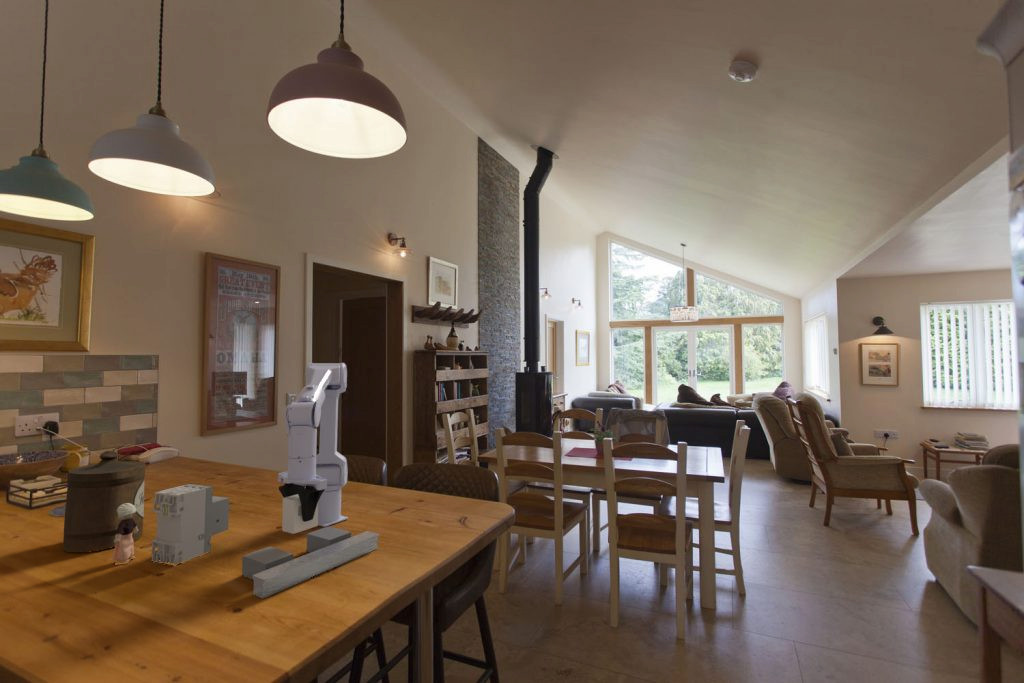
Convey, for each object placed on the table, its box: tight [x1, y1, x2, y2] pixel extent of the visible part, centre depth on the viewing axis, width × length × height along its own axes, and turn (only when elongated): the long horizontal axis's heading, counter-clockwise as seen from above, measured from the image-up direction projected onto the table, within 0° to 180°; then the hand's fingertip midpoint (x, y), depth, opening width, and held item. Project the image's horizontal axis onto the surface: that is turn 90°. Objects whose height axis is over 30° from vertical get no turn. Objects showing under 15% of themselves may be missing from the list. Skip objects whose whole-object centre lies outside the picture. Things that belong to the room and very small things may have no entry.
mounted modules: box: [241, 525, 352, 581], centre depth 104 cm, size 8×21×4 cm, turn 149°
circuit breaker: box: [150, 483, 231, 565], centre depth 110 cm, size 8×14×15 cm, turn 161°
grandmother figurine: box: [112, 503, 138, 563], centre depth 104 cm, size 8×4×13 cm, turn 23°
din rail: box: [252, 530, 380, 600], centre depth 100 cm, size 4×28×4 cm, turn 149°
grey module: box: [281, 494, 319, 535], centre depth 105 cm, size 4×6×7 cm
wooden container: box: [62, 450, 146, 553], centre depth 117 cm, size 15×15×22 cm
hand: (301, 518), depth 105 cm, fingers closed on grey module, 4 cm apart
